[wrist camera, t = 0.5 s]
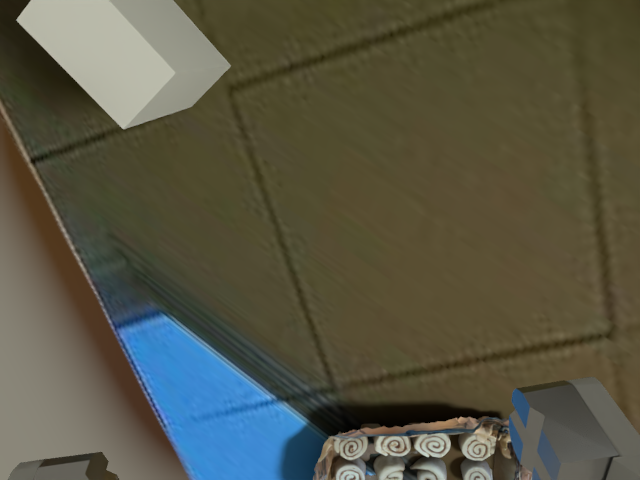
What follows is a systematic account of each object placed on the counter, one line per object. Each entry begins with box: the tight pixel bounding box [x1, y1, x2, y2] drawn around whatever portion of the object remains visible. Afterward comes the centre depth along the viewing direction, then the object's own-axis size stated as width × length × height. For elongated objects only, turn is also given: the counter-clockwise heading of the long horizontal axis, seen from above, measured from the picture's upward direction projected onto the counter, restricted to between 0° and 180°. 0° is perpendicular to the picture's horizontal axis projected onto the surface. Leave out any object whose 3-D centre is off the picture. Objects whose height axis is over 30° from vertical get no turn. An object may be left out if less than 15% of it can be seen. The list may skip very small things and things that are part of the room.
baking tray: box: [313, 416, 533, 480], centre depth 62 cm, size 30×22×5 cm
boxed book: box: [16, 0, 231, 129], centre depth 41 cm, size 10×6×15 cm, turn 42°
